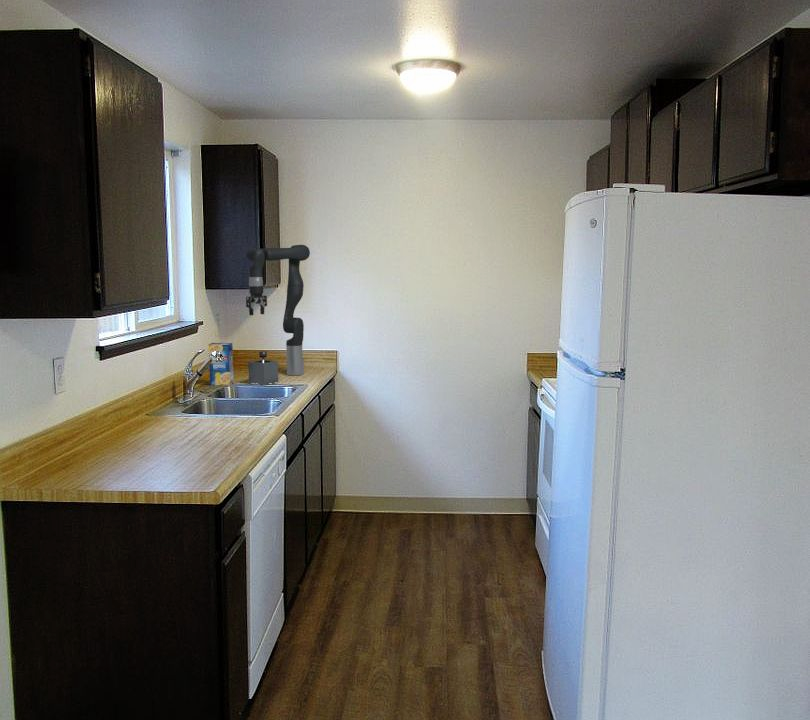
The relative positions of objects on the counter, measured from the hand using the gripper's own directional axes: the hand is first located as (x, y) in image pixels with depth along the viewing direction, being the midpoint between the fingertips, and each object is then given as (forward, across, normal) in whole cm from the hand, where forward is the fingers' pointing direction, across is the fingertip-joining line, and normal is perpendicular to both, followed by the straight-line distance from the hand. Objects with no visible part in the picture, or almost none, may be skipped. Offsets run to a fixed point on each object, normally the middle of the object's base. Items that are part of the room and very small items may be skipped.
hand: (256, 314), depth 407 cm
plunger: (+34, +9, +12) cm, 38 cm away
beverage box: (+36, +23, -5) cm, 43 cm away
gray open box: (+36, +9, +12) cm, 39 cm away
